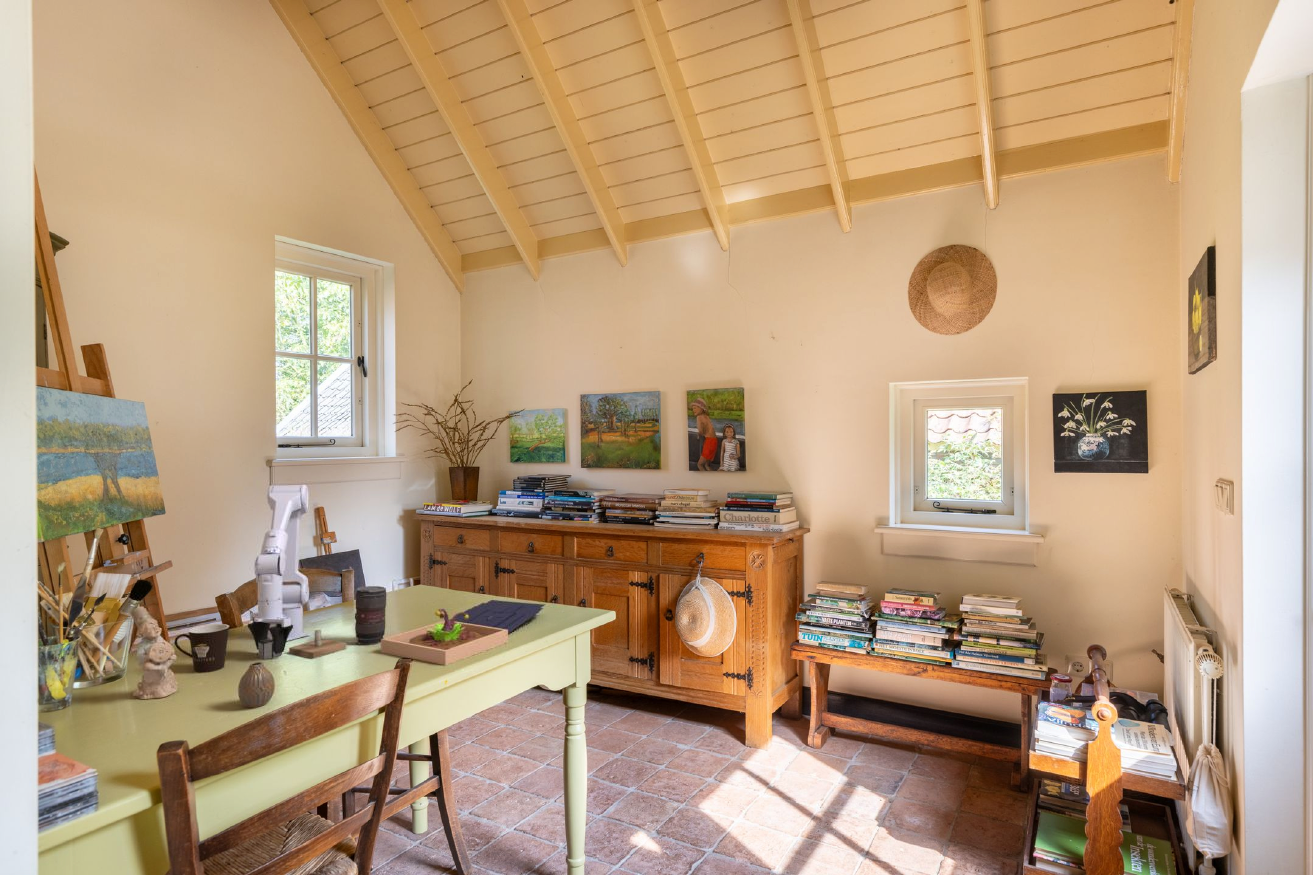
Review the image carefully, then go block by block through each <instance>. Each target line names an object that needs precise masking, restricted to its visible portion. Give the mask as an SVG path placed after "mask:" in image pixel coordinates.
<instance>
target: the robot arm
mask: <svg viewBox="0 0 1313 875" xmlns="http://www.w3.org/2000/svg"><path fill="white" fill-rule="evenodd" d="M309 495H310V494H309V488H308V486H307V484H292V485H289V484H287V485H285V484H283V485H275V484H272V485H270V486H269V487H268V489H267V495H266V498H267V504H268V505H269V509H270V510H271V511H272V515H271V516H272V518H271V525H270V529H269V530H268V531H266V532H265V534H264V537H263V542H262V545H261V551H260V553H259V554H260V555H258V556H256V557H255V559H254V575H255V582H256V584H257V611H256V612H252V613H250V614H249V616H250V617H249V619H250V621H251V623H247V628H248V629H249V631H250V633H251V635H252V637H253V640H254V643H255V646H256V650H258V643H259V642H260V641H261V640H265V639H271V638H272V639H273V646H274V652H275V654H278V653H282V654H283V653H284V651H285V648H286V643H287V642H289V641H292V640H296V639H300V638H304V637H308V636H310V633H309V632H303V631H304V627H303V625H304V610H303V608H304V605H305V604H306V603H308V601H309V598H310V588H309V587H310V586H309V579H308V576H306V575H305V574H303V573H301V572H300V571H299V560H300V558H299V557H300V551H299V550H300V537H301V536H300V532H301V531H300V530H301V521H302V520H301V519H302V515H304V514H307V513H308V510H309ZM284 582H285V583H284ZM286 582H288V583H286ZM289 582H291V583H289Z"/></svg>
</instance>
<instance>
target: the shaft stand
mask: <svg viewBox="0 0 1313 875" xmlns="http://www.w3.org/2000/svg"><path fill="white" fill-rule="evenodd" d="M346 649H347V643H346V642H342V641H336V640H331V639H325V638H322V629H317V630H314V640H312V641H309V642H305V643H302V644H297V645H294V646H290V647H289V648H288V652H289V654H292V655H295V656H300V657H304V658H309V659H317V658H321V657H322V656H326V655H330V654H333V653H337V652H340V651H344V650H346Z"/></svg>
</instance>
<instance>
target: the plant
mask: <svg viewBox="0 0 1313 875" xmlns="http://www.w3.org/2000/svg"><path fill="white" fill-rule="evenodd" d="M442 612H443V613H442ZM463 612H464V611H463ZM463 612H462V611H461V612H458V613H456V614H454V615H453V617H452V618H449V614H448V611H446V609H444V608H439V609H436V611H435V616H436V617H439V618H440V619H441V620H443V621H445V623H444V625H442V624H439V623H438V622H437V623H438V624H437V627H435V626H433V628H434V629H435V630H436V631H437V632H434V631H433V630H431V629H428V630H429V631H427V634H422V635H419V636H416V637H414V638H412V639H410V642H409V643H410V644H415V645H421V646H426V647H432V648H437V649H442V650H447V649H450V648H453V647H456V646H459V645H462V644H465V643H468V642H471V641H474V640H476V639H479V638H482V637H484V636H482V635H480V634H478V633H476V632H471V631H470V630H469V631H463V629H464V628H462V629H460V626H461V623H457V624H455V625H454V622H455V619H456V618H457V616H458V615H461V614H463V615H464V618H465V619H468V617H469V616H468V615H467V614H466V613H463ZM450 619H451V620H450ZM449 620H450V621H449ZM459 629H460V630H459ZM428 632H430V633H428Z"/></svg>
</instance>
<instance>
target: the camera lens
mask: <svg viewBox="0 0 1313 875" xmlns="http://www.w3.org/2000/svg"><path fill="white" fill-rule="evenodd" d="M386 607H387V588H386V587H384V586H377V585H370V586H360V587H358V588H357V589H356V593H355V613H354V620H355V625H354V626H355V627H354V632H355V638H356V639H357V644H359V645H362V646H365V645H366V646H367V645H368V646H369V645H375V644H379V643H381V639H384V635H385V633H386Z"/></svg>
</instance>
